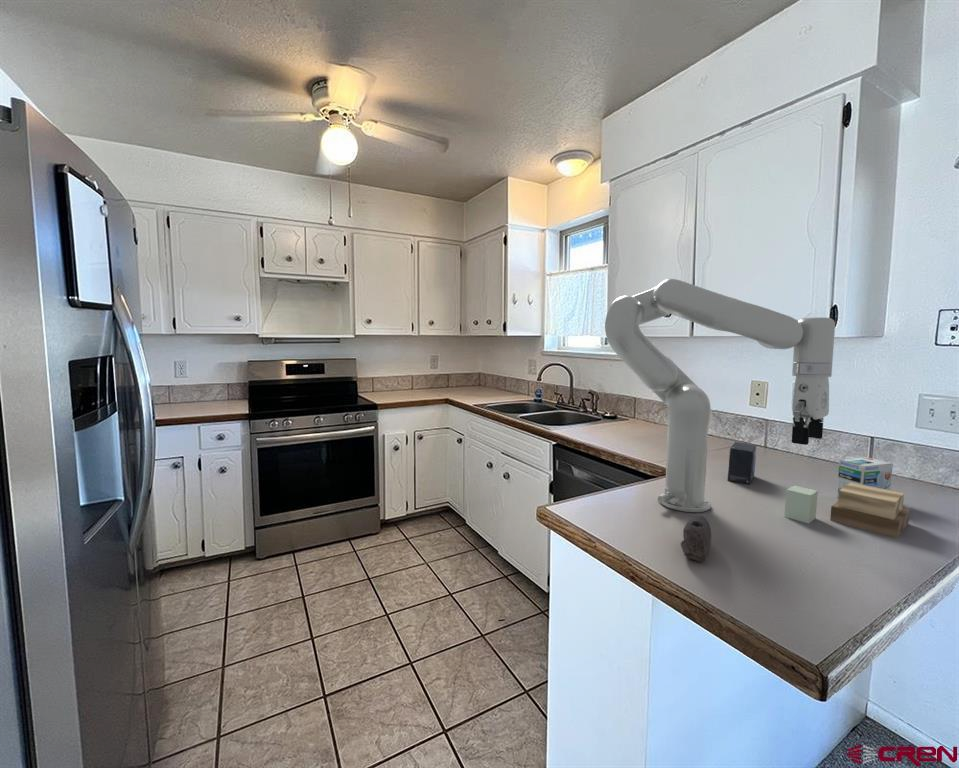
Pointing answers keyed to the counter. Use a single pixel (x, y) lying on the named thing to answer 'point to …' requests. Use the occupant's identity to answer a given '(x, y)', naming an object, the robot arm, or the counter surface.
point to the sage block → (801, 504)
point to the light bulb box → (864, 473)
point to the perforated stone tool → (696, 538)
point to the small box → (742, 462)
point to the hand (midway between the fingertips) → (807, 440)
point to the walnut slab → (870, 520)
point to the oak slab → (871, 500)
